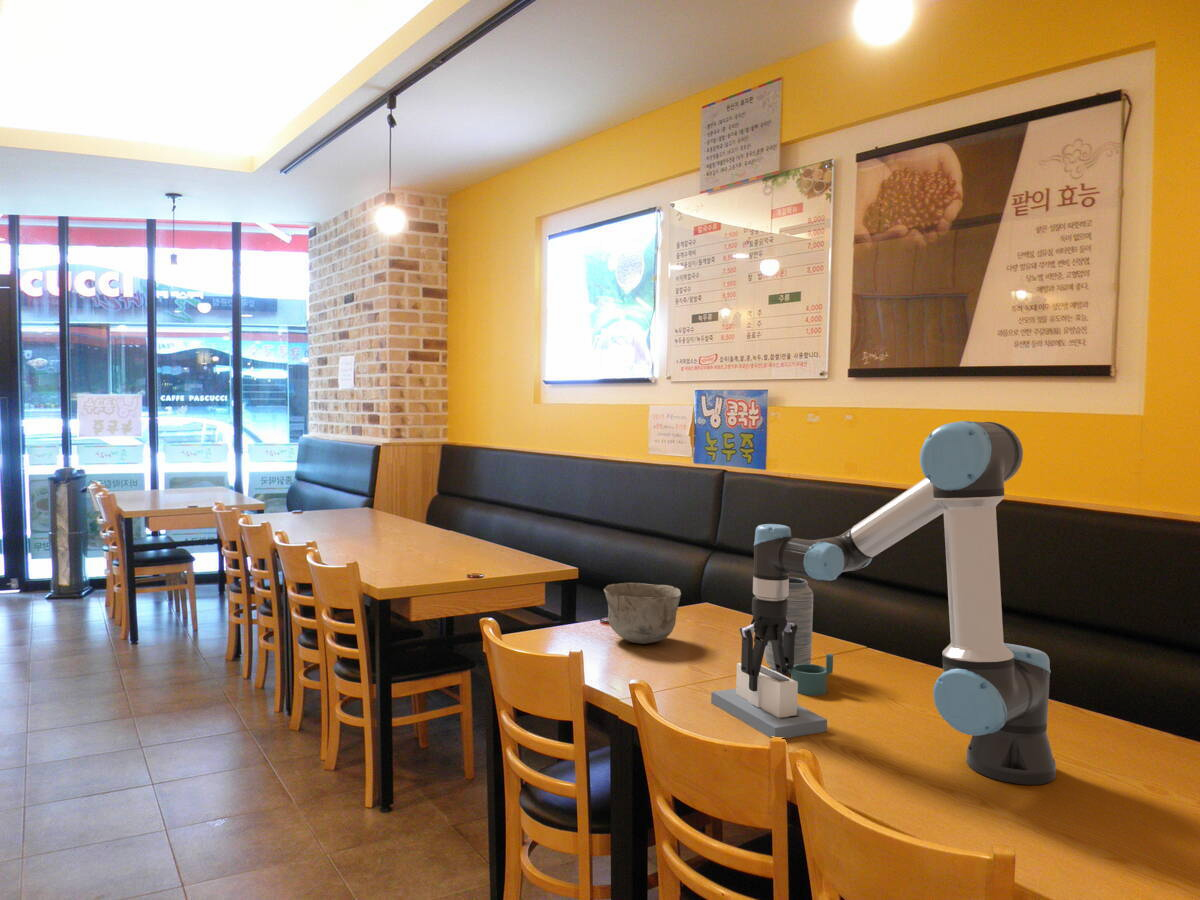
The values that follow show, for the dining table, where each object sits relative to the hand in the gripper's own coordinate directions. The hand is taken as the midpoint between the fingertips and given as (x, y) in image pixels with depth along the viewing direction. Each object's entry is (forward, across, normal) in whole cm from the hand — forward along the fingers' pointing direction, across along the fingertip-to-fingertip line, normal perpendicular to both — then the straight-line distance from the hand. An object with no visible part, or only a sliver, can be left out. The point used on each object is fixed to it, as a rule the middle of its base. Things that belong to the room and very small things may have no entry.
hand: (766, 703), depth 190 cm
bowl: (+4, -3, -64) cm, 64 cm away
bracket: (+3, -21, -12) cm, 24 cm away
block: (+2, 0, 0) cm, 2 cm away
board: (+3, 0, 0) cm, 3 cm away
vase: (+3, -26, -27) cm, 37 cm away
